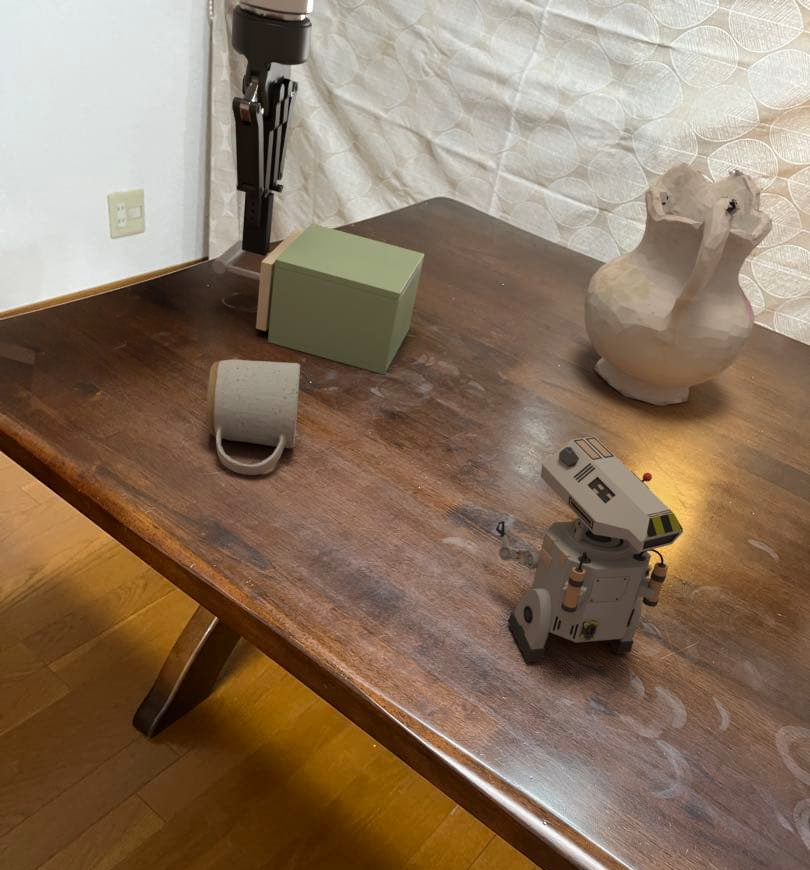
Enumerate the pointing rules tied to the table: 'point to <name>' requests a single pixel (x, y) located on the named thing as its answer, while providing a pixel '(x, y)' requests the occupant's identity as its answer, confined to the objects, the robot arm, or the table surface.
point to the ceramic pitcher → (678, 288)
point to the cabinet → (344, 297)
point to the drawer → (256, 273)
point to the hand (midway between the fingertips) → (255, 250)
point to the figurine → (592, 553)
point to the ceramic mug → (253, 407)
